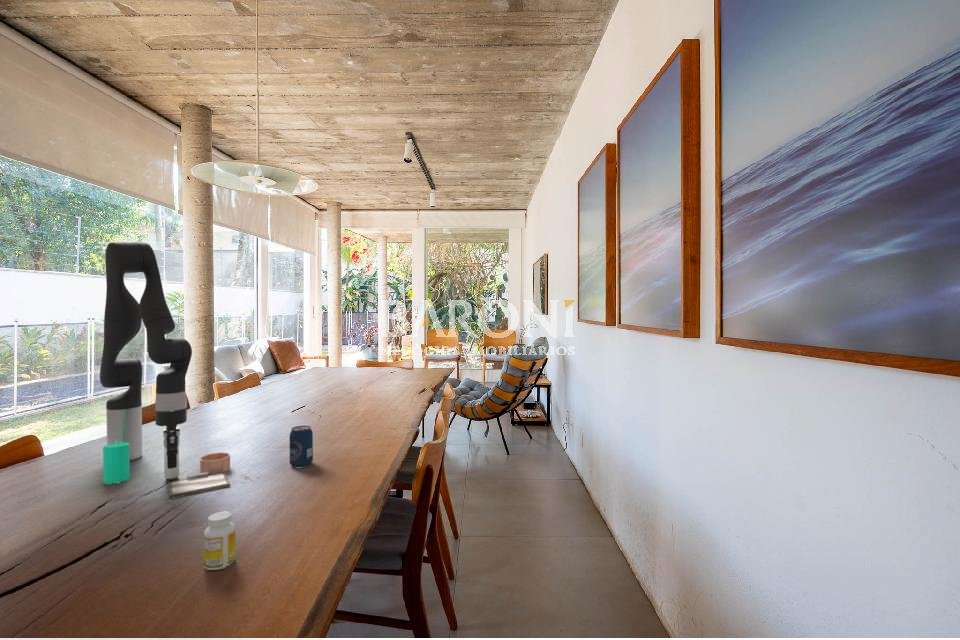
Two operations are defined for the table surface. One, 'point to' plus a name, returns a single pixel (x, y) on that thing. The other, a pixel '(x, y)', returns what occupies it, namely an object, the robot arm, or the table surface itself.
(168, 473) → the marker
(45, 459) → the table surface
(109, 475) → the candle
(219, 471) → the pen cup
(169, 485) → the clipboard
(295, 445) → the soda can
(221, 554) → the supplement bottle
